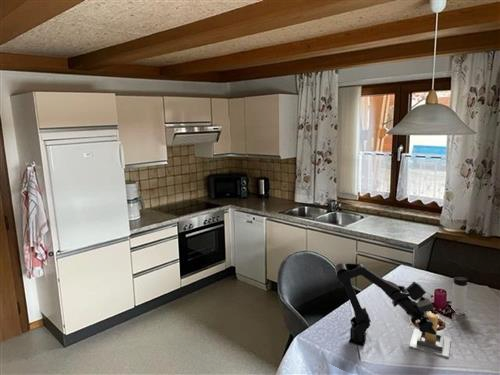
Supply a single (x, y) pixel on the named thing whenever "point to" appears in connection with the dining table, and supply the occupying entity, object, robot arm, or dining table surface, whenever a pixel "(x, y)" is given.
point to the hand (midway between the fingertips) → (431, 328)
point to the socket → (430, 344)
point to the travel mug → (459, 295)
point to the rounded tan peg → (434, 319)
